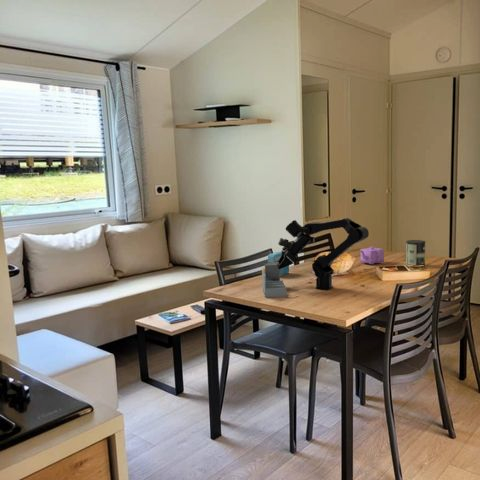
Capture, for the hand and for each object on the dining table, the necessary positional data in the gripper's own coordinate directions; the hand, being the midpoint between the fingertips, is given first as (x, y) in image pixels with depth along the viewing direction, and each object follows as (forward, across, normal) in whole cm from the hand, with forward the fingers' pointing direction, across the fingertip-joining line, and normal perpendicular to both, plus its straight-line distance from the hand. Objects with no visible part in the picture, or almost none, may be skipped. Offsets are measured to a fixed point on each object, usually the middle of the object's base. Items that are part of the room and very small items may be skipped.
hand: (277, 266), depth 253 cm
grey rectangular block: (+9, 0, +5) cm, 10 cm away
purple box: (-34, -49, +49) cm, 77 cm away
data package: (+5, -28, +9) cm, 30 cm away
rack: (+9, +12, +5) cm, 16 cm away
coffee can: (-50, -37, +64) cm, 90 cm away
